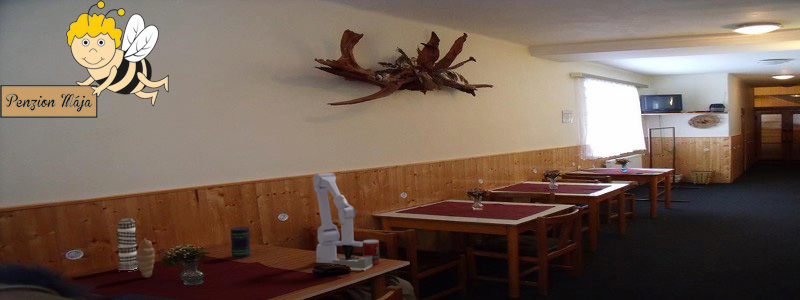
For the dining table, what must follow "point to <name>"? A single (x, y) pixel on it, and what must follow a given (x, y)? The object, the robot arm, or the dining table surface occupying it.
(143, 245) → the tan ridged cocoon
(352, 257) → the plunger
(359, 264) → the gauge housing
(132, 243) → the decorative candle
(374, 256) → the canned food
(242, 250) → the storage jar
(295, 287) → the dining table surface
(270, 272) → the dining table surface
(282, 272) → the dining table surface
